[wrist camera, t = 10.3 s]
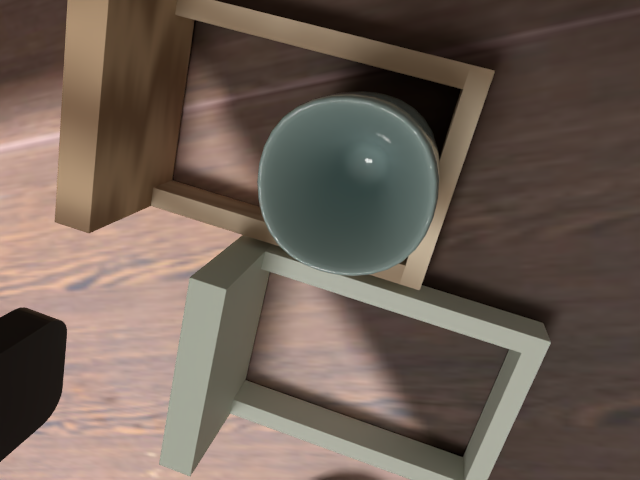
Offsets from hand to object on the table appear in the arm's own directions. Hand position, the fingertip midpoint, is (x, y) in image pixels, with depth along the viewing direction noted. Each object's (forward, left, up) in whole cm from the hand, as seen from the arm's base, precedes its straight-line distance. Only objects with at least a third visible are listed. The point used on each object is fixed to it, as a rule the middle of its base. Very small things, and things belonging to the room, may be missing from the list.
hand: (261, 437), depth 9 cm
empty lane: (+12, +2, -24) cm, 26 cm away
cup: (-1, -1, -24) cm, 24 cm away
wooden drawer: (-1, -6, -24) cm, 24 cm away
